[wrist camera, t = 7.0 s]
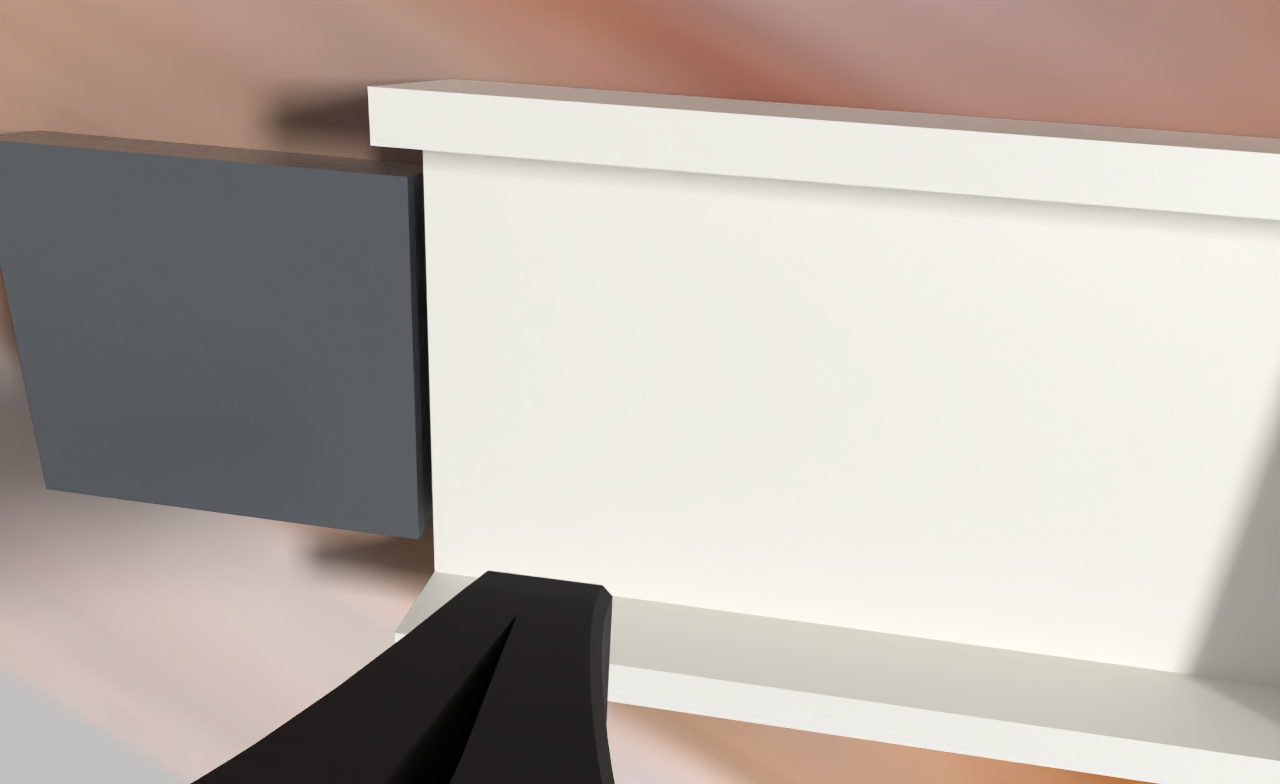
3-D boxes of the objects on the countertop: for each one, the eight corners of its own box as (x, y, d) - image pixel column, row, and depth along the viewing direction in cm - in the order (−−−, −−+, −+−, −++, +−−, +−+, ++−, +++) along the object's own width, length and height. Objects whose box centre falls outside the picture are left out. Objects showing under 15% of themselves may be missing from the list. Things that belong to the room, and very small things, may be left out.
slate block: (453, 492, 19) (418, 539, 17) (113, 448, 20) (46, 488, 18) (448, 163, 17) (407, 177, 15) (58, 129, 18) (-26, 138, 16)
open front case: (1296, 678, 17) (1415, 822, 14) (460, 565, 19) (396, 669, 16) (1511, 155, 14) (1738, 188, 10) (452, 78, 16) (367, 86, 12)
